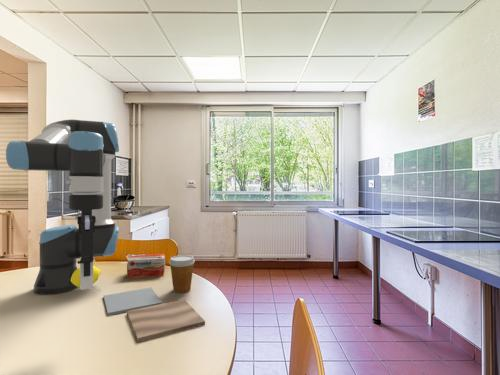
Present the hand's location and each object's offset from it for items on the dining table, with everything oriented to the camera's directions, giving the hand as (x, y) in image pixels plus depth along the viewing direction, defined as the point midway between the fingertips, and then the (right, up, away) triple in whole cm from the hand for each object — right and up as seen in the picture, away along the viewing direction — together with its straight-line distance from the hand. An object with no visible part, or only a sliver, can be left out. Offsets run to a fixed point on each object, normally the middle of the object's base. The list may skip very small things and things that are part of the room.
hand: (86, 284), depth 73 cm
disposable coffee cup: (+16, -14, +35) cm, 41 cm away
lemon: (0, -1, 0) cm, 1 cm away
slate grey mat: (+2, -14, +24) cm, 28 cm away
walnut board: (+17, -14, +11) cm, 24 cm away
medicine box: (-4, -14, +54) cm, 56 cm away
